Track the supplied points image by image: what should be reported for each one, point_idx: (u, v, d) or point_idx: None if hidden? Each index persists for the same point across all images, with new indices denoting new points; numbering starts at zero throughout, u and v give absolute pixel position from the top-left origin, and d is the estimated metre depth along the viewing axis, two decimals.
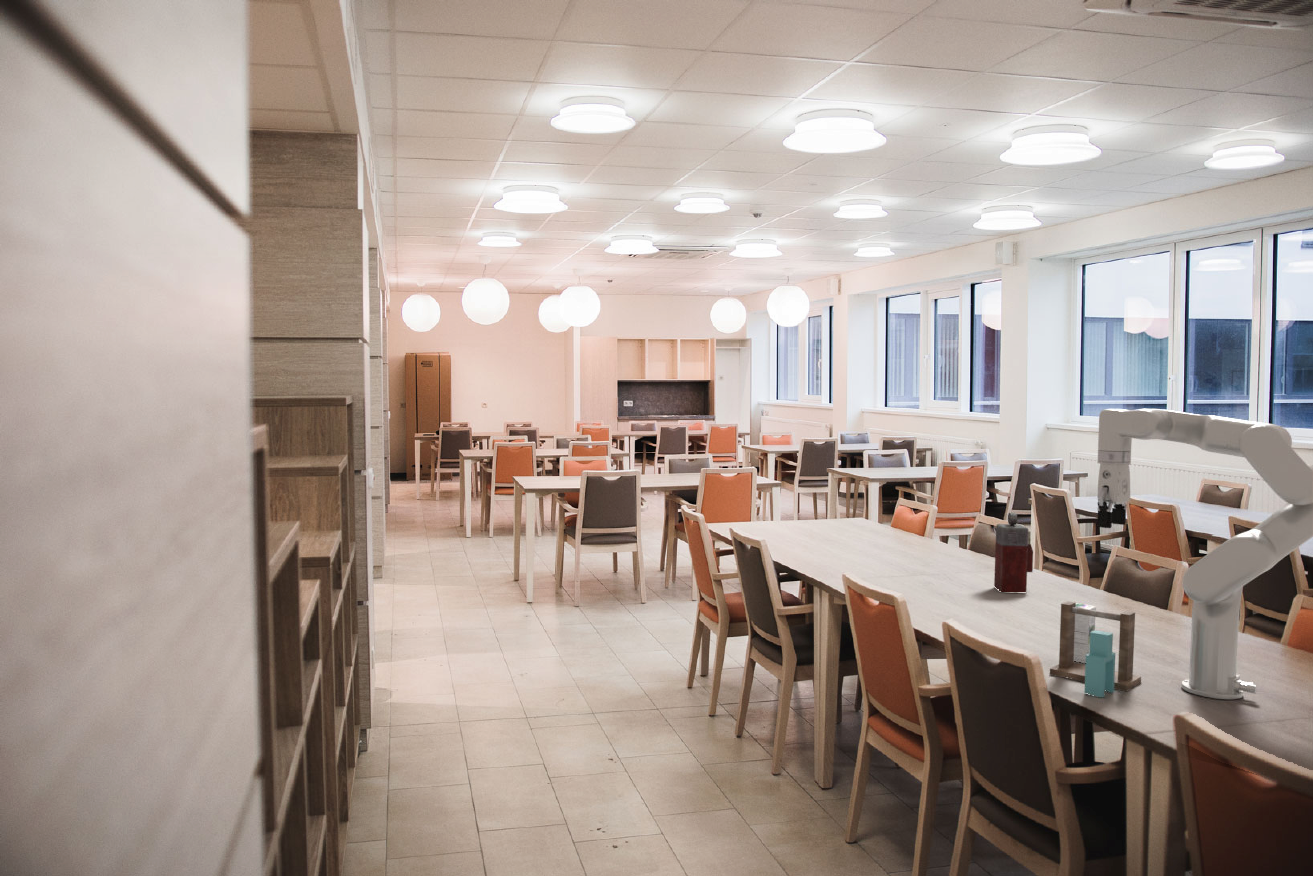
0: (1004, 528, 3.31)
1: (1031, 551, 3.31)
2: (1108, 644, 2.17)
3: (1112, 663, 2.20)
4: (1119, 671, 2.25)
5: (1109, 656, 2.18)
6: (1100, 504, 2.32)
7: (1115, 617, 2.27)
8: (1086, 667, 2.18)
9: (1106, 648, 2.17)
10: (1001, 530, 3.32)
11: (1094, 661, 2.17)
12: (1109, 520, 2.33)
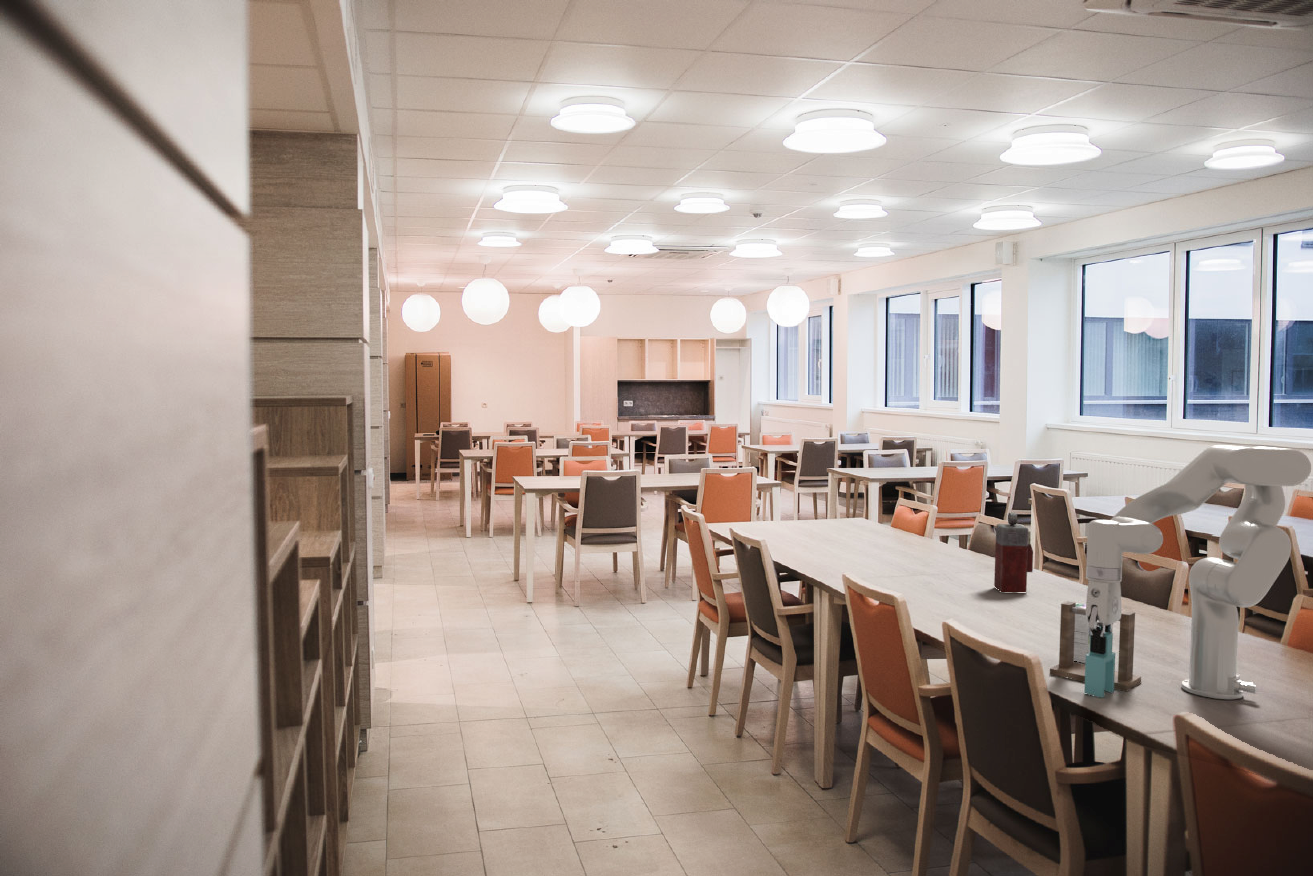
0: (1004, 528, 3.31)
1: (1031, 551, 3.31)
2: (1108, 644, 2.17)
3: (1112, 663, 2.20)
4: (1119, 671, 2.25)
5: (1109, 656, 2.18)
6: None
7: None
8: (1086, 667, 2.18)
9: (1106, 648, 2.17)
10: (1001, 530, 3.32)
11: (1094, 661, 2.17)
12: (1103, 646, 2.17)
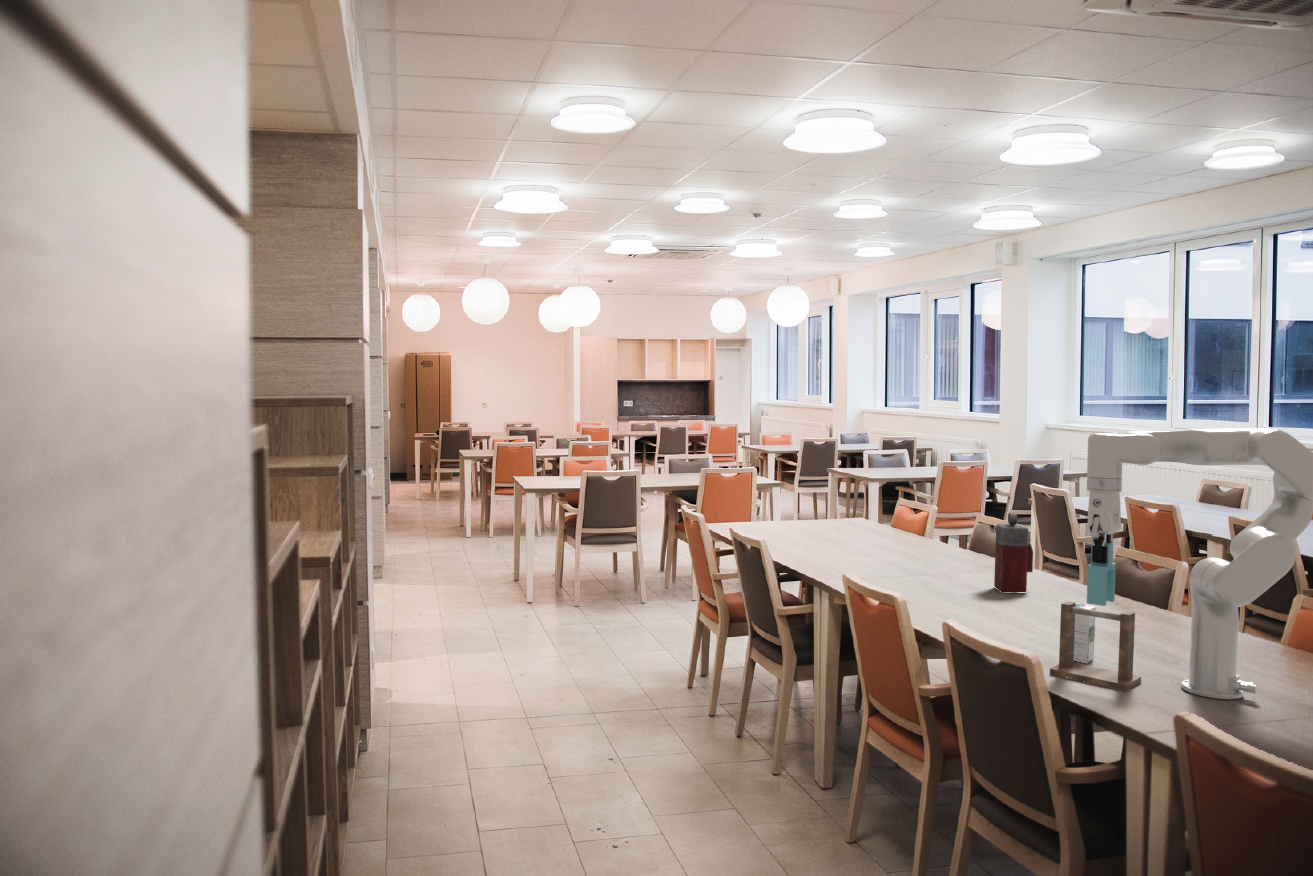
0: (1004, 528, 3.31)
1: (1031, 551, 3.31)
2: (1109, 553, 2.22)
3: (1112, 573, 2.25)
4: (1119, 671, 2.25)
5: (1110, 565, 2.23)
6: (1095, 539, 2.21)
7: (1115, 617, 2.27)
8: (1088, 577, 2.23)
9: (1108, 558, 2.22)
10: (1001, 530, 3.32)
11: (1096, 570, 2.22)
12: (1104, 555, 2.22)
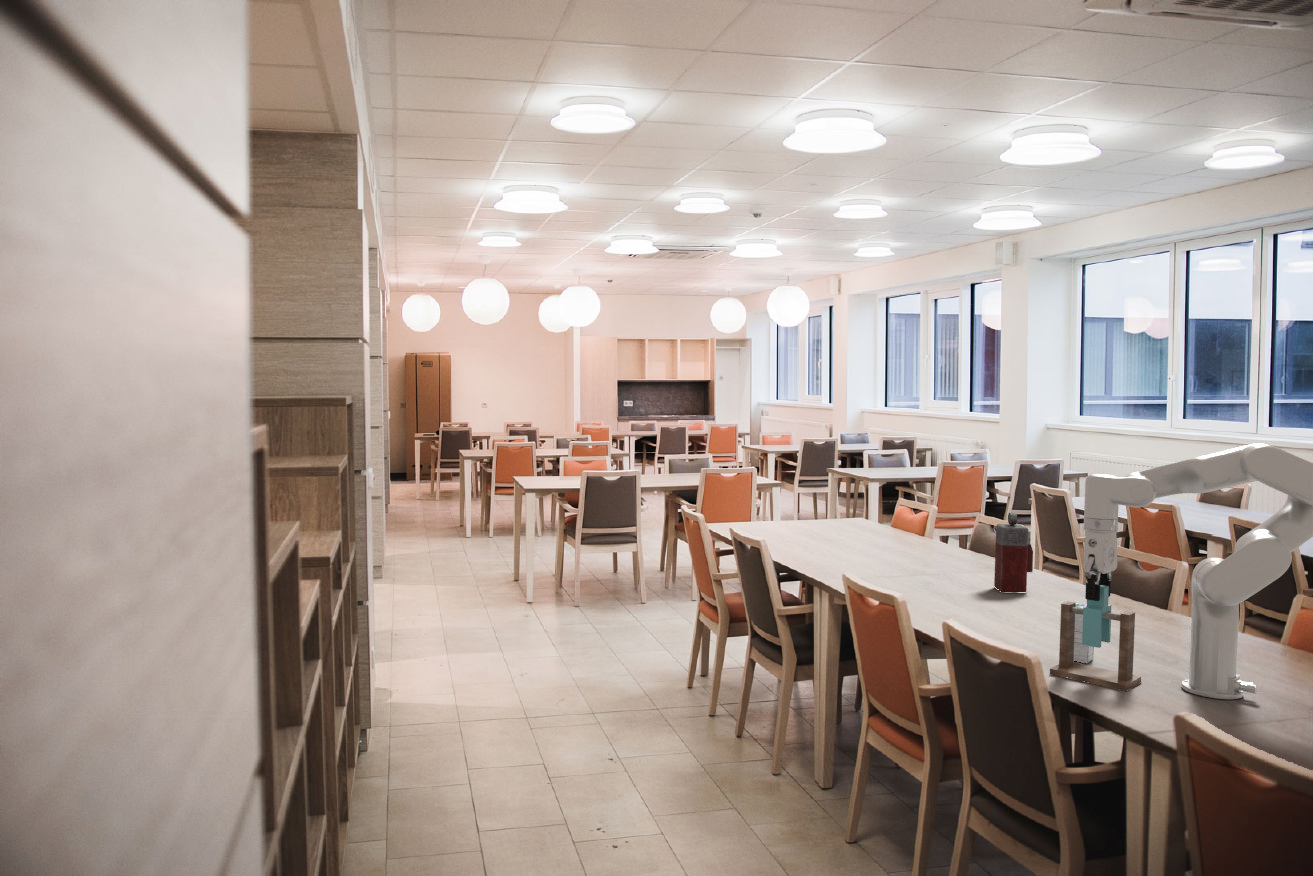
0: (1004, 528, 3.31)
1: (1031, 551, 3.31)
2: (1104, 596, 2.28)
3: None
4: (1119, 671, 2.25)
5: (1105, 608, 2.29)
6: (1088, 577, 2.26)
7: (1115, 617, 2.27)
8: (1084, 619, 2.29)
9: (1103, 601, 2.28)
10: (1001, 530, 3.32)
11: (1091, 613, 2.28)
12: (1097, 593, 2.27)
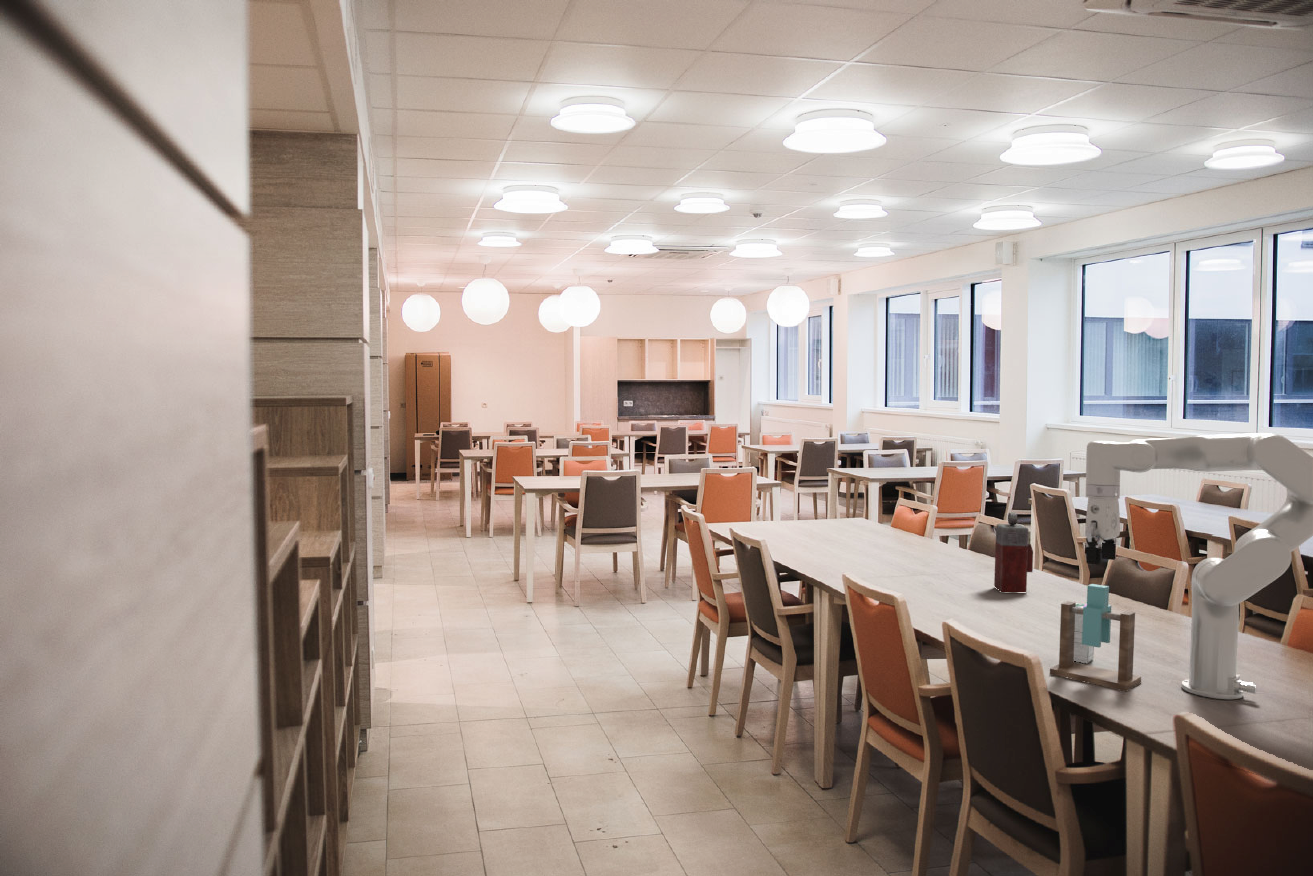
0: (1004, 528, 3.31)
1: (1031, 551, 3.31)
2: (1104, 596, 2.28)
3: None
4: (1119, 671, 2.25)
5: (1105, 608, 2.29)
6: (1089, 540, 2.24)
7: (1115, 617, 2.27)
8: (1083, 618, 2.29)
9: (1103, 600, 2.28)
10: (1001, 530, 3.32)
11: (1091, 612, 2.28)
12: (1098, 556, 2.25)
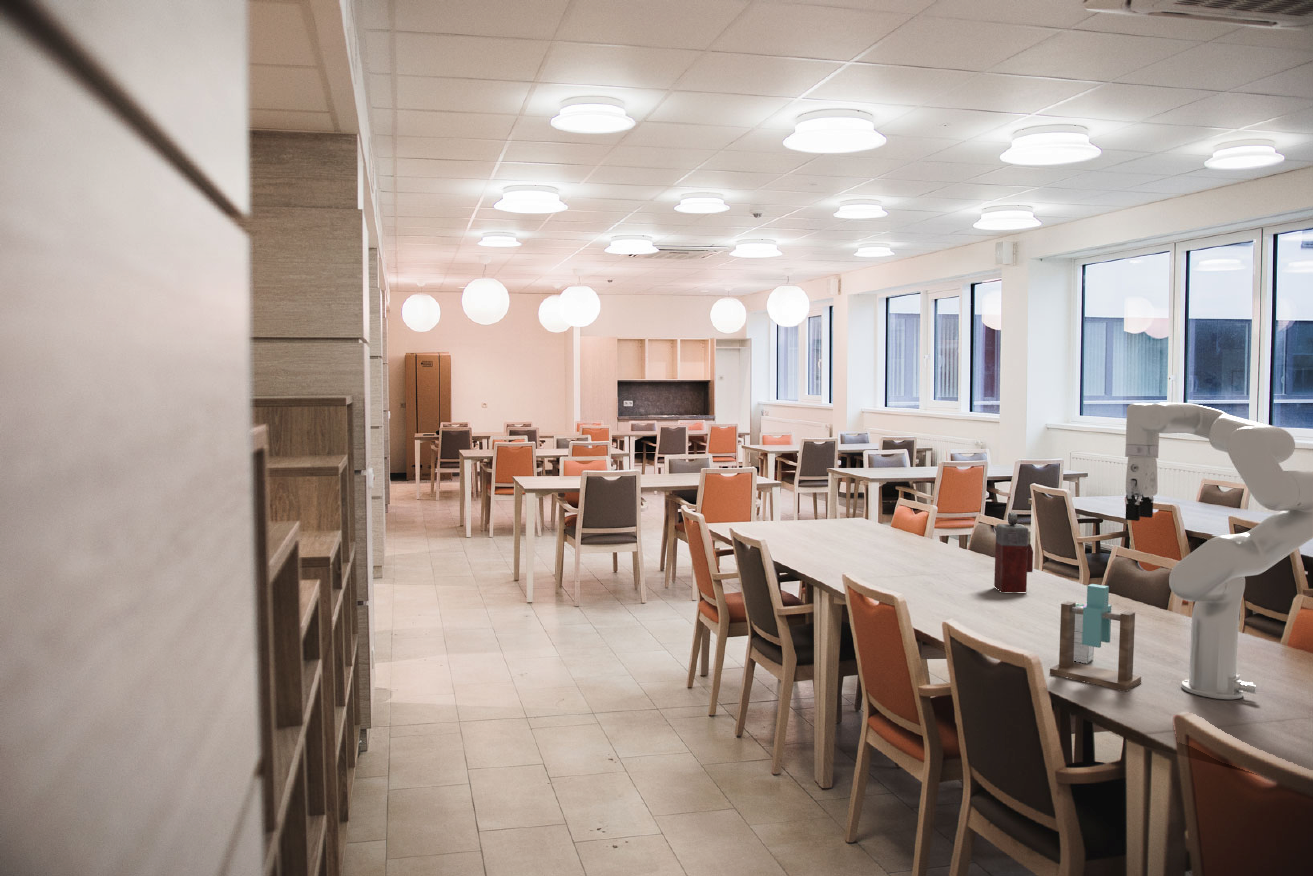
0: (1004, 528, 3.31)
1: (1031, 551, 3.31)
2: (1104, 596, 2.28)
3: None
4: (1119, 671, 2.25)
5: (1105, 608, 2.29)
6: (1128, 497, 2.34)
7: (1115, 617, 2.27)
8: (1083, 618, 2.29)
9: (1103, 600, 2.28)
10: (1001, 530, 3.32)
11: (1091, 612, 2.28)
12: (1137, 513, 2.35)
